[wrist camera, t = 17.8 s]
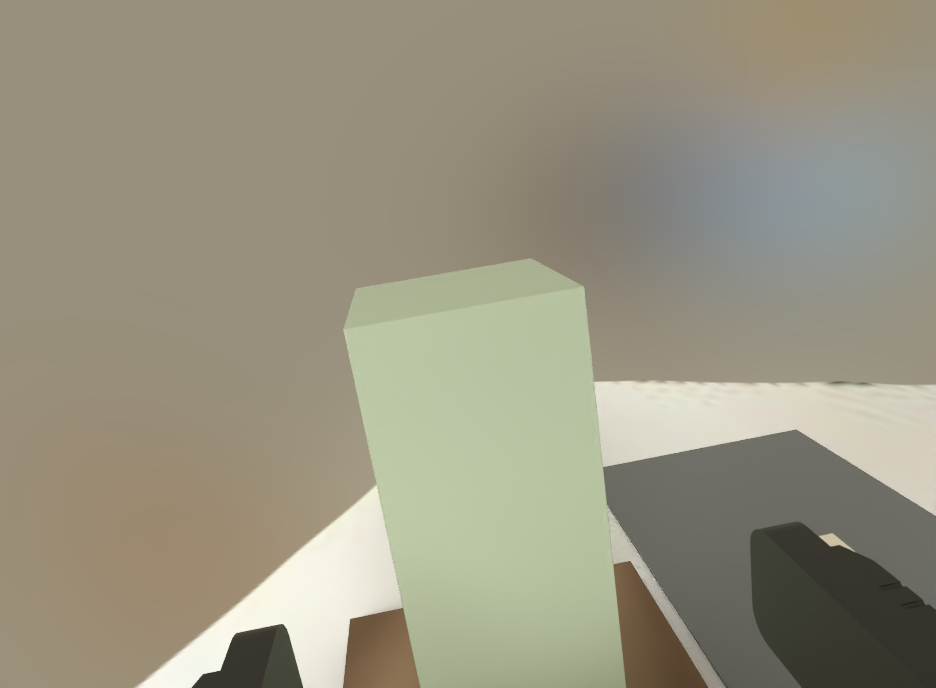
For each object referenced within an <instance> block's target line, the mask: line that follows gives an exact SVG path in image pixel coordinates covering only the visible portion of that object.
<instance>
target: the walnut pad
mask: <svg viewBox="0 0 936 688" xmlns="http://www.w3.org/2000/svg"><path fill="white" fill-rule="evenodd" d="M613 568H614V577H615V587H616V596H617V606H618V615H619V625H620V634H621V644H622V653H623V663H624V672H625V682H626V688H708V686H707V685H706V683H705V682H704V680H703V678H702V677H701V675H700V673H699V672H698V670H697V669H696V667H695V665H694V664H693V662H692V661H691V659H690V657H689V656H688V654H687V652H686V651H685V649H684V648H683V646H682V644H681V643H680V641H679V639H678V638H677V636H676V635H675V633H674V631H673V630H672V628H671V626H670V625H669V623H668V622H667V620H666V618H665V617H664V615H663V613H662V612H661V610H660V609H659V607H658V605H657V604H656V602H655V601H654V599H653V597H652V596H651V594H650V592H649V591H648V589H647V588H646V586H645V584H644V583H643V581H642V579H641V578H640V576H639V575H638V573H637V571H636V570H635V568H634V566H633V565H632V563H631V562H630V561H629V562H624V563H619V564H614V565H613ZM343 688H420V684H419V679H418V675H417V670H416V665H415V661H414V656H413V651H412V647H411V642H410V637H409V633H408V628H407V623H406V619H405V614H404V609H403V608H401V609H397V610H392V611H387V612H382V613H377V614H372V615H368V616H363V617H358V618H353V619H350V627H349V636H348V646H347V655H346V665H345V675H344V684H343Z"/></svg>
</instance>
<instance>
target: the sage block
mask: <svg viewBox="0 0 936 688" xmlns="http://www.w3.org/2000/svg"><path fill="white" fill-rule="evenodd" d="M343 330H344V335H345V339H346V343H347V349H348V353H349V357H350V362H351V367H352V372H353V376H354V381H355V386H356V390H357V395H358V400H359V404H360V409H361V414H362V418H363V423H364V428H365V432H366V437H367V442H368V446H369V451H370V456H371V460H372V464H373V469H374V474H375V479H376V484H377V488H378V493H379V498H380V502H381V507H382V512H383V516H384V521H385V525H386V530H387V535H388V539H389V544H390V549H391V553H392V558H393V563H394V567H395V572H396V577H397V581H398V586H399V591H400V595H401V600H402V605H403V609H404V614H405V619H406V623H407V628H408V633H409V637H410V642H411V647H412V651H413V656H414V661H415V665H416V670H417V675H418V679H419V684H420V688H626V682H625V672H624V663H623V653H622V644H621V634H620V625H619V615H618V606H617V596H616V587H615V577H614V568H613V558H612V549H611V539H610V530H609V520H608V511H607V501H606V492H605V482H604V473H603V463H602V454H601V444H600V435H599V425H598V416H597V406H596V397H595V387H594V378H593V368H592V359H591V349H590V341H589V331H588V321H587V312H586V302H585V292H584V286H582V285H580V284H578V283H576V282H574V281H572V280H570V279H568V278H566V277H565V276H563V275H561V274H559V273H557V272H555V271H553V270H552V269H550V268H548V267H546V266H544V265H542V264H540V263H538V262H537V261H535V260H533V259H531V258H530V259H525V260H519V261H513V262H507V263H502V264H496V265H490V266H484V267H478V268H473V269H467V270H461V271H455V272H450V273H444V274H438V275H432V276H426V277H421V278H415V279H409V280H403V281H398V282H392V283H386V284H380V285H375V286H368V287H363V288H357V289H356V290H355V293H354V297H353V300H352V303H351V306H350V310H349V313H348V316H347V319H346V323H345V326H344V329H343Z"/></svg>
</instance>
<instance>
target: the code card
mask: <svg viewBox="0 0 936 688" xmlns="http://www.w3.org/2000/svg"><path fill="white" fill-rule="evenodd" d="M603 473H604V482H605V492H606V501H607V505H608V506H609V508H610V509H611V511H612V512H613V514H614V515H615V517H616V518H617V520H618V521H619V523H620V524H621V526H622V528H623V529H624V531H625V532H626V534H627V535H628V537H629V538H630V540H631V541H632V543H633V544H634V546H635V547H636V549H637V550H638V552H639V554H640V555H641V557H642V558H643V560H644V561H645V563H646V564H647V566H648V567H649V569H650V570H651V572H652V573H653V575H654V576H655V578H656V579H657V581H658V583H659V584H660V586H661V587H662V589H663V590H664V592H665V593H666V595H667V596H668V598H669V599H670V601H671V602H672V604H673V605H674V607H675V609H676V610H677V612H678V613H679V615H680V616H681V618H682V619H683V621H684V622H685V624H686V625H687V627H688V628H689V630H690V631H691V633H692V635H693V636H694V638H695V639H696V641H697V642H698V644H699V645H700V647H701V648H702V650H703V651H704V653H705V654H706V656H707V657H708V659H709V661H710V662H711V664H712V665H713V667H714V668H715V670H716V671H717V673H718V674H719V676H720V677H721V679H722V680H723V682H724V683H725V685H726V686H727V688H802V687H801V686H800V685H799V684H798V682H797V681H796V680H795V679H794V677H793V676H792V675H791V674H790V672H789V671H788V670H787V669H786V667H785V666H784V665H783V664H782V662H781V661H780V660H779V659H778V657H777V656H776V655H775V654H774V652H773V651H772V650H771V649H770V647H769V646H768V645H767V643H766V642H765V640H764V638H763V637H762V635H761V633H760V630H759V628H758V626H757V623H756V620H755V617H754V613H753V606H752V583H751V556H750V537H751V534H752V532H753V531H754V530H756V529H761V528H766V527H771V526H776V525H781V524H786V523H791V522H796V521H797V522H801V523H803V524H804V525H806V526H807V527H808V528H809V529H810V530H812V531H813V532H814V533H815V534H816V535H818V536H819V537H820V538H821V539H822V540H824V541H825V542H826V543H827V544H828V545H830V546H836V545H841V546H843V547H845V548H848V549H850V550H852V551H854V552H856V553H859V554H861V555H863V556H865V557H867V558H870V559H872V560H874V561H875V562H876V563H878V564H879V565H880V566H881V567H883V568H884V569H885V570H886V571H888V572H889V573H890V574H892V575H893V576H894V577H895V578H897V579H898V580H899V581H900V582H901V585H902V586H903V587H904V586H907V587H908V588H909V589H910V590H912V591H913V592H914V593H915V594H917V595H918V596H919V597H920V598H922V599H923V601H924V603H925V605H928V604H929V605H931V606H932V607H933V608H934V609H936V516H935V515H933V514H931V513H930V512H928V511H927V510H925V509H923V508H922V507H920V506H918V505H917V504H915V503H914V502H912V501H910V500H909V499H907V498H906V497H904V496H902V495H901V494H899V493H898V492H896V491H894V490H893V489H891V488H889V487H888V486H886V485H885V484H883V483H881V482H880V481H878V480H877V479H875V478H873V477H872V476H870V475H869V474H867V473H865V472H864V471H862V470H860V469H859V468H857V467H856V466H854V465H852V464H851V463H849V462H848V461H846V460H844V459H843V458H841V457H840V456H838V455H836V454H835V453H833V452H831V451H830V450H828V449H827V448H825V447H823V446H822V445H820V444H819V443H817V442H815V441H814V440H812V439H811V438H809V437H807V436H806V435H804V434H802V433H801V432H799V431H798V430H792V431H787V432H782V433H777V434H771V435H766V436H761V437H756V438H751V439H746V440H741V441H736V442H731V443H725V444H720V445H715V446H710V447H705V448H700V449H695V450H690V451H685V452H680V453H674V454H669V455H664V456H659V457H654V458H649V459H644V460H639V461H634V462H628V463H623V464H618V465H613V466H608V467H603Z"/></svg>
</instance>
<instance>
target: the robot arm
mask: <svg viewBox="0 0 936 688" xmlns="http://www.w3.org/2000/svg"><path fill="white" fill-rule="evenodd" d="M750 556H751V583H752V606H753V613H754V617H755V620H756V623H757V626H758V628H759V630H760V633H761V635H762V637H763V638H764V640H765V642H766V643H767V645H768V646H769V647H770V649H771V650H772V651H773V652H774V654H775V655H776V656H777V657H778V659H779V660H780V661H781V662H782V664H783V665H784V666H785V667H786V669H787V670H788V671H789V672H790V674H791V675H792V676H793V677H794V679H795V680H796V681H797V682H798V684H799V685H800V686H801V687H802V688H936V609H934V608H933V607H932V606H931V605H929V604H928V605H925V603H924V601H923V599H922V598H920V597H919V596H918V595H917V594H915V593H914V592H913V591H912V590H910V589H909V588H908V587H907V586H904V587H903V586H902V585H901V582H900V581H899V580H898V579H897V578H895V577H894V576H893V575H892V574H890V573H889V572H888V571H886V570H885V569H884V568H883V567H881V566H880V565H879V564H878V563H876V562H875V561H874V560H872V559H870V558H867V557H865V556H863V555H861V554H859V553H856V552H854V551H852V550H850V549H848V548H845V547H843V546H841V545H836V546H830V545H828V544H827V543H826V542H825V541H824V540H822V539H821V538H820V537H819V536H818V535H816V534H815V533H814V532H813V531H812V530H810V529H809V528H808V527H807V526H806V525H804V524H803V523H801V522H797V521H796V522H791V523H786V524H781V525H776V526H771V527H766V528H761V529H756V530H754V531H753V532H752V534H751V537H750ZM192 688H303V685H302V682H301V678H300V674H299V671H298V667H297V663H296V660H295V656H294V652H293V649H292V645H291V641H290V638H289V634H288V631H287V629H286V627H285V626H284V625H283V624H279V625H274V626H270V627H265V628H260V629H255V630H250V631H245V632H240V633H236V634H235V635H234V637H233V638H232V641H231V643H230V646H229V649H228V652H227V654H226V657H225V660H224V662H223V665H222V668H221V671H217V672H212V673H207V674H203V675H202V676H201V677H200V679H199V680H198V681H197V682H196V683H195V684H194V686H193V687H192Z"/></svg>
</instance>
